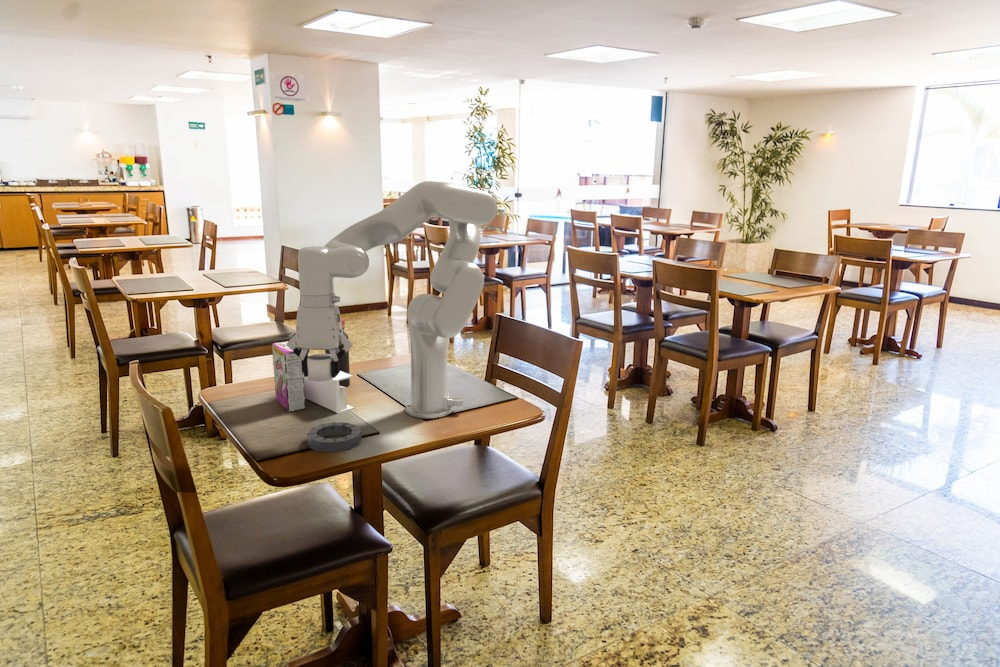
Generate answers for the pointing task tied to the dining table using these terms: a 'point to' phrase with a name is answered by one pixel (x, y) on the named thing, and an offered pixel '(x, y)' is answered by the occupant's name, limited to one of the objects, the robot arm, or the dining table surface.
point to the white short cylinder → (319, 367)
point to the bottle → (343, 359)
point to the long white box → (328, 393)
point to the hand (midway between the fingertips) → (321, 374)
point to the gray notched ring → (337, 444)
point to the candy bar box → (288, 377)
